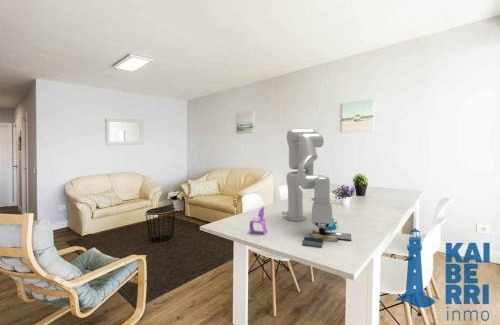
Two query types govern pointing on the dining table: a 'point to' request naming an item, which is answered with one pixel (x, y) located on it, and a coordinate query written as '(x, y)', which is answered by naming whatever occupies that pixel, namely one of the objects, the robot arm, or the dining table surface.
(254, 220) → the toy chair
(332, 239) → the beam
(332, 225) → the gear
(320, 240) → the cradle
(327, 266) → the dining table surface
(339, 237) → the axle
